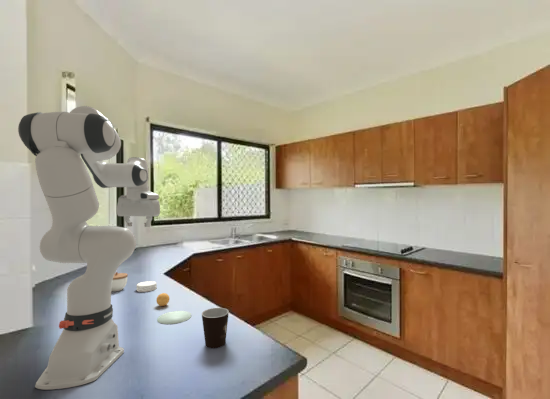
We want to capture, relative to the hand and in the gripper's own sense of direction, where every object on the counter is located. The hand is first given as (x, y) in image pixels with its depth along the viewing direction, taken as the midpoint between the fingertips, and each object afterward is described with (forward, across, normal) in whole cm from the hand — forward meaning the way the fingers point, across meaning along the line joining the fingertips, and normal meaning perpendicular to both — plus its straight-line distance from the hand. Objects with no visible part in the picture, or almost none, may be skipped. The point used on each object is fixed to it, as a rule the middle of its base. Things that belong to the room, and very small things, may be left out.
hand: (138, 226), depth 124 cm
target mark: (+36, +22, -5) cm, 42 cm away
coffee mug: (+35, +48, -19) cm, 63 cm away
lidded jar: (+37, -33, +20) cm, 54 cm away
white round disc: (+38, -17, +25) cm, 48 cm away
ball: (+33, +8, +6) cm, 35 cm away
